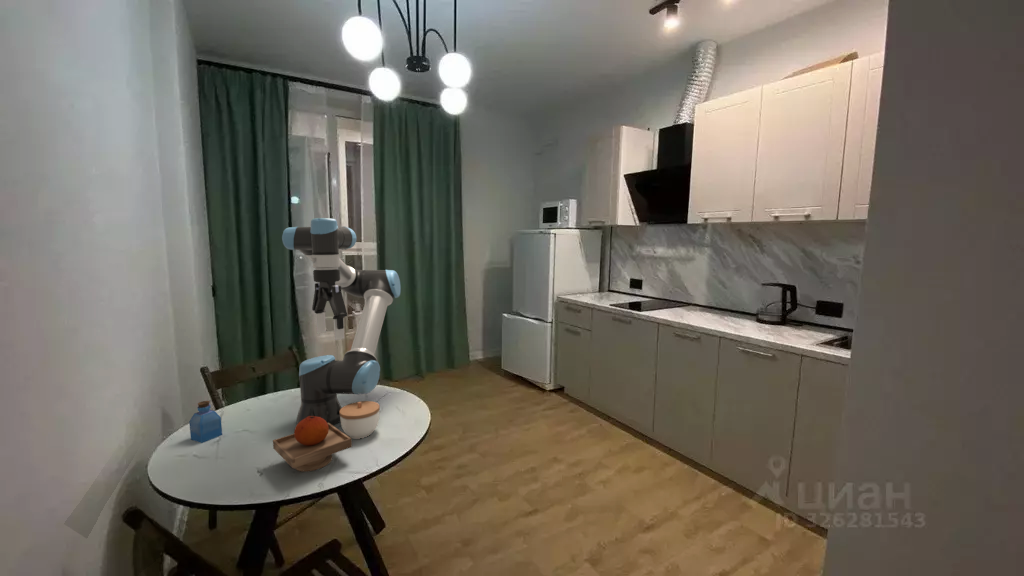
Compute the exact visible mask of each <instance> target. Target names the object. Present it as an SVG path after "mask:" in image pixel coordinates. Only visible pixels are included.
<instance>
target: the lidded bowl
mask: <svg viewBox="0 0 1024 576" xmlns="http://www.w3.org/2000/svg"><path fill="white" fill-rule="evenodd" d="M380 409H381V407H380V403H378V402H376V401H372V400H361V401H354V402H351V403H348V404H346V405H344V406H341V409H340V411H339V413H340V426H341V428H342V430H343V433H344V434H346V435H347V436H349V437H350V438H351V439H353V440H354V439H355V440H359V439H360V438H362V439H365V438H364V437H366V438H367V436H368V437H370V436H371V435H372V434H373V432H374V431H375V430H376V429H377V427H378V425H379V421H380ZM371 433H372V434H371ZM370 434H371V435H370ZM369 435H370V436H369ZM360 440H361V439H360Z"/></svg>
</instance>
